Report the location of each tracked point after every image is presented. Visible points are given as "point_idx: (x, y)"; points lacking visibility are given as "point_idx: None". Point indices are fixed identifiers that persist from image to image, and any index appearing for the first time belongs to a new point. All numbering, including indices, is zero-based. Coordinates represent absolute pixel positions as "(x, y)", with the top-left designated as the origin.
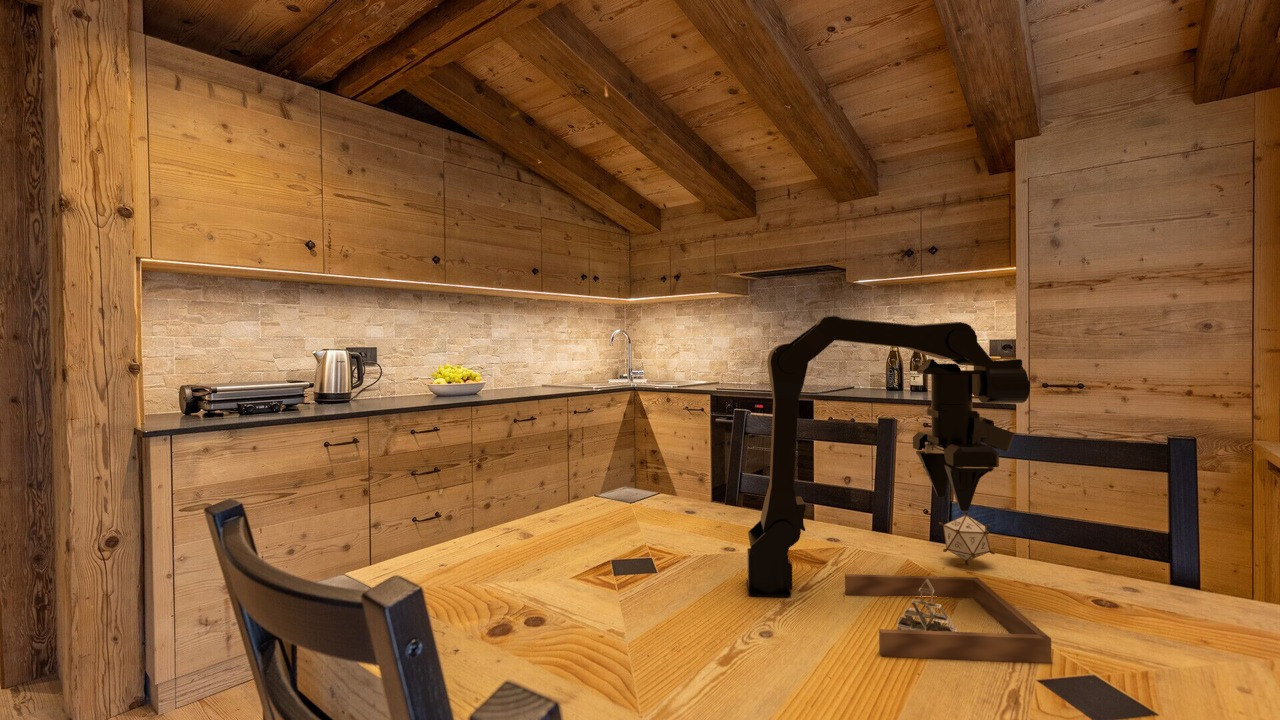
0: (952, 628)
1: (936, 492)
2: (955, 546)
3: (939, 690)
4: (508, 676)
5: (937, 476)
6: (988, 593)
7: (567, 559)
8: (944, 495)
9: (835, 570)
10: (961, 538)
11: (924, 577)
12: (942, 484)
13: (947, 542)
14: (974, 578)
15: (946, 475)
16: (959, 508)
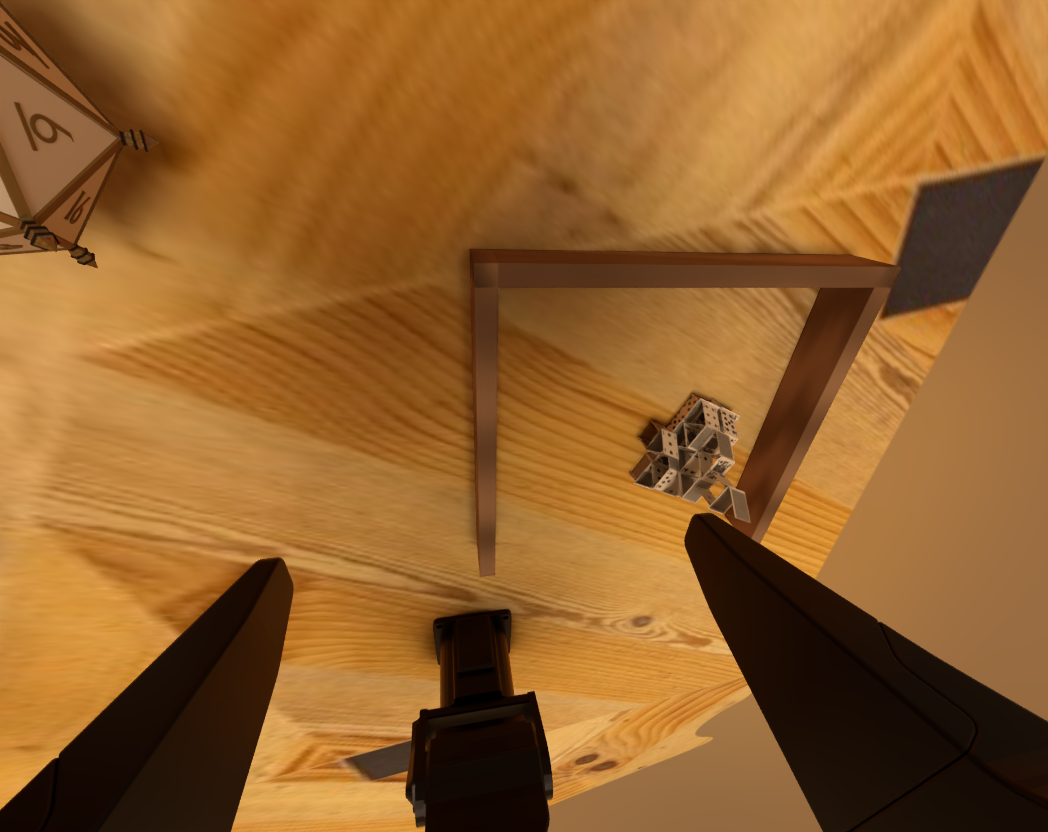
0: (725, 419)
1: (286, 626)
2: (78, 219)
3: (838, 465)
4: (690, 735)
5: (205, 791)
6: (612, 287)
7: (384, 804)
8: (281, 566)
9: (320, 551)
10: (60, 202)
11: (489, 427)
12: (243, 671)
13: (34, 247)
14: (486, 279)
15: (159, 768)
16: (690, 554)
